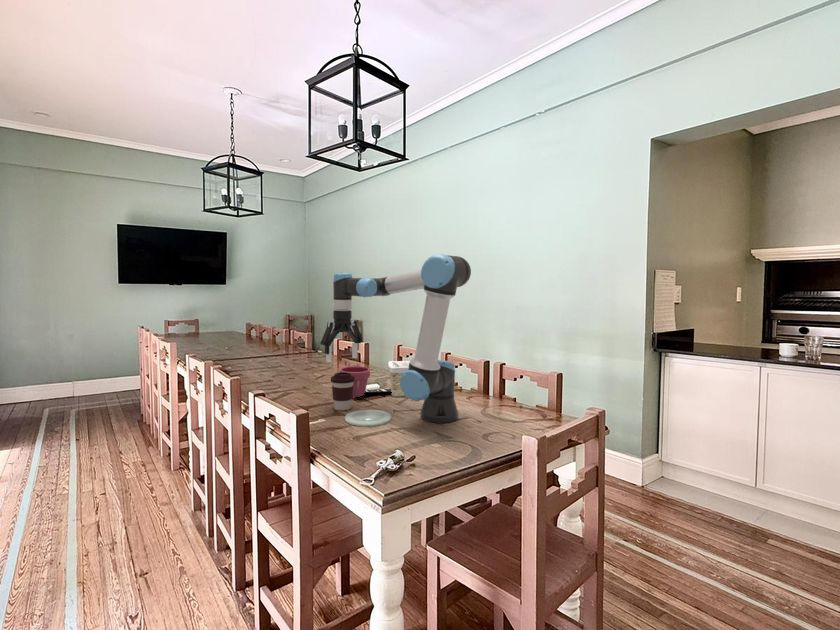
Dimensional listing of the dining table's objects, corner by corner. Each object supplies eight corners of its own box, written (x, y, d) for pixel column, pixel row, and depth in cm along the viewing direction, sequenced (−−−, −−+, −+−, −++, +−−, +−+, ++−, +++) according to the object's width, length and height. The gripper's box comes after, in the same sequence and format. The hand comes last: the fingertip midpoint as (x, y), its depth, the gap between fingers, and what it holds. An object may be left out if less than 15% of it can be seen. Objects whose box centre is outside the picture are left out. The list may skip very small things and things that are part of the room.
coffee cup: (356, 405, 194) (356, 371, 192) (351, 412, 184) (351, 376, 183) (334, 404, 195) (334, 370, 193) (327, 411, 185) (327, 375, 184)
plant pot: (371, 398, 205) (372, 371, 204) (341, 400, 202) (341, 372, 201) (367, 391, 219) (367, 365, 218) (338, 392, 215) (338, 366, 214)
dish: (370, 409, 188) (370, 406, 187) (400, 419, 175) (400, 416, 175) (335, 419, 174) (335, 415, 174) (365, 430, 162) (365, 426, 162)
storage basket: (389, 397, 208) (389, 366, 207) (387, 389, 224) (387, 360, 223) (439, 396, 211) (440, 366, 210) (434, 388, 227) (434, 359, 226)
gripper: (360, 308, 198) (359, 355, 199) (311, 310, 179) (311, 362, 181) (371, 309, 193) (370, 357, 194) (322, 311, 174) (322, 365, 176)
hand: (342, 360), depth 188 cm, fingers open, 13 cm apart
